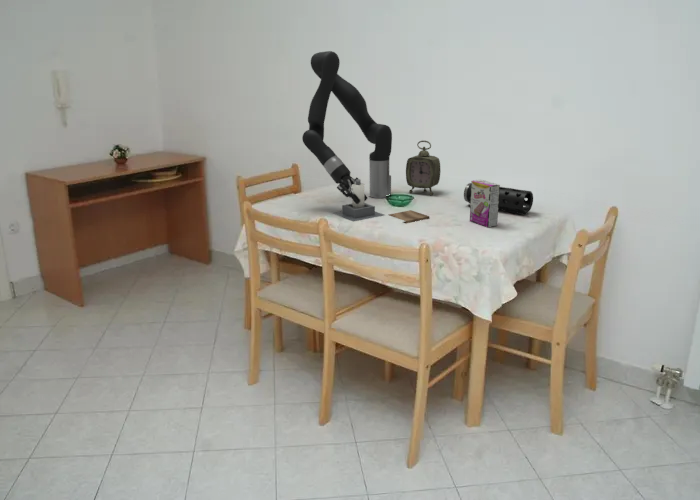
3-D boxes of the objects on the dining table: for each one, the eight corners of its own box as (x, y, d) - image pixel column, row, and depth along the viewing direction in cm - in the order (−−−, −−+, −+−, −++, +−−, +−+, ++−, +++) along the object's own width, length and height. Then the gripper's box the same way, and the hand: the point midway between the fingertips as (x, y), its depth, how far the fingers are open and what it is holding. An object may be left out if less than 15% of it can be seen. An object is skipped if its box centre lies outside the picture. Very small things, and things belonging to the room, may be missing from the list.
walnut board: (410, 212, 248) (410, 210, 248) (429, 218, 238) (429, 216, 238) (387, 217, 242) (387, 214, 242) (405, 223, 232) (405, 221, 232)
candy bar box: (468, 221, 234) (470, 180, 229) (478, 219, 236) (480, 179, 231) (487, 228, 224) (490, 185, 219) (497, 226, 227) (500, 184, 222)
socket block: (363, 209, 254) (363, 199, 253) (385, 217, 241) (385, 206, 240) (331, 215, 246) (331, 204, 244) (353, 223, 233) (352, 212, 232)
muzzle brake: (521, 217, 238) (523, 192, 235) (462, 207, 256) (463, 183, 253) (532, 213, 244) (534, 188, 241) (473, 202, 262) (474, 179, 259)
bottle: (360, 211, 246) (359, 178, 242) (366, 213, 243) (366, 180, 238) (350, 212, 244) (349, 179, 239) (356, 215, 240) (356, 181, 235)
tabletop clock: (405, 193, 281) (406, 140, 273) (413, 189, 288) (414, 138, 280) (433, 196, 274) (435, 142, 266) (441, 192, 281) (443, 140, 273)
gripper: (332, 166, 235) (358, 199, 233) (351, 160, 246) (376, 192, 244) (321, 178, 239) (347, 210, 237) (341, 172, 251) (365, 203, 249)
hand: (362, 201), depth 241 cm, fingers closed on bottle, 5 cm apart
